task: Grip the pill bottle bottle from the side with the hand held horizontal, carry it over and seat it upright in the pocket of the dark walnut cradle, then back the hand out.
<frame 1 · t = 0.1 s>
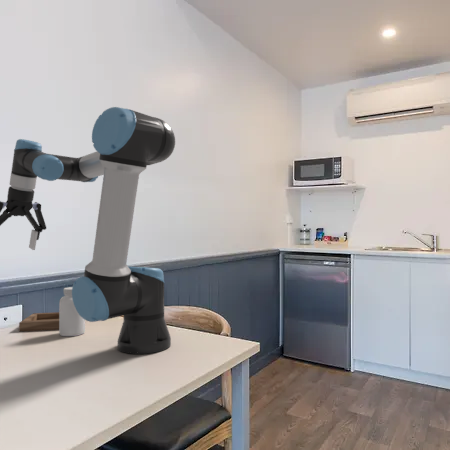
hand: (12, 249, 135), 28 cm above the table, tool tilted 20°, fingers open, 13 cm apart
cradle: (49, 325, 145), on the table
pill bottle: (72, 334, 132), on the table
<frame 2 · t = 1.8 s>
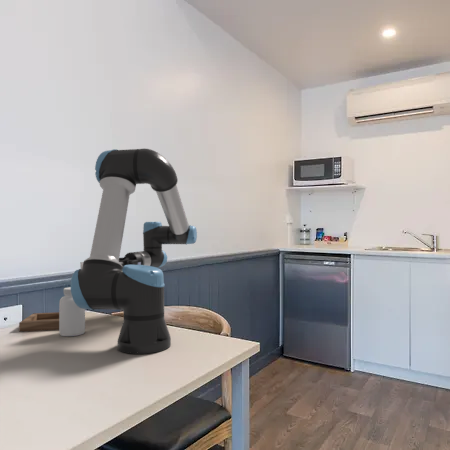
hand: (94, 266, 141), 21 cm above the table, tool horizontal, fingers open, 13 cm apart
nothing on the table moved.
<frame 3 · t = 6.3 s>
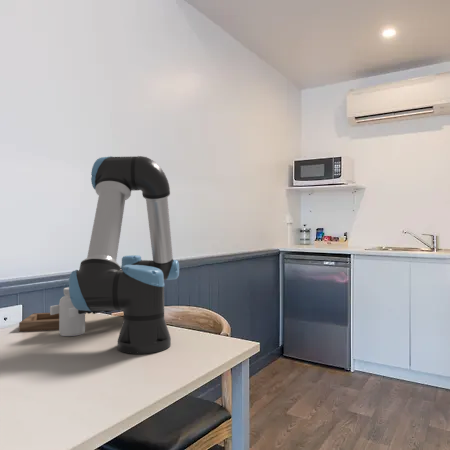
hand: (59, 311, 128), 8 cm above the table, tool horizontal, fingers closed on pill bottle, 8 cm apart
pill bottle: (72, 334, 132), on the table, touching gripper
when the fingers open (10 cm above the table, at t = 10.6 s): pill bottle drops 1 cm, resting on cradle.
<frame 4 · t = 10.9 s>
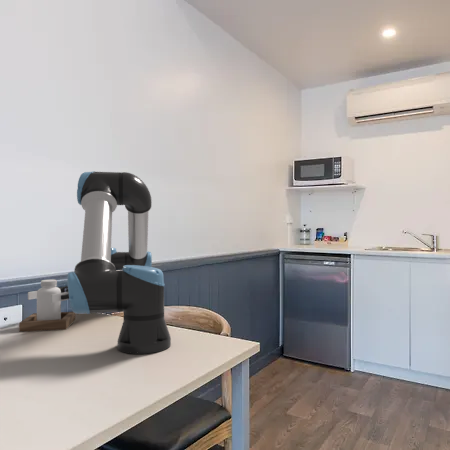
hand: (39, 297, 142), 10 cm above the table, tool horizontal, fingers open, 12 cm apart
pill bottle: (49, 322, 145), point 1 cm above the table, touching cradle
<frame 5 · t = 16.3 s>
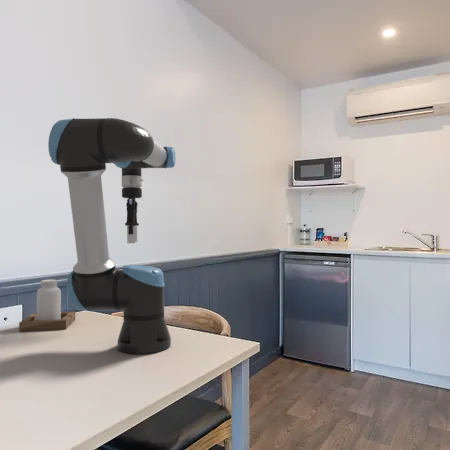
hand: (132, 242, 156), 29 cm above the table, tool pointing down, fingers open, 13 cm apart
nothing on the table moved.
at the end: pill bottle inside the target area on the cradle (0.2 cm from its centre), point 0.8 cm above the cradle's base; pill bottle tilted 0°; the gripper is holding nothing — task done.
